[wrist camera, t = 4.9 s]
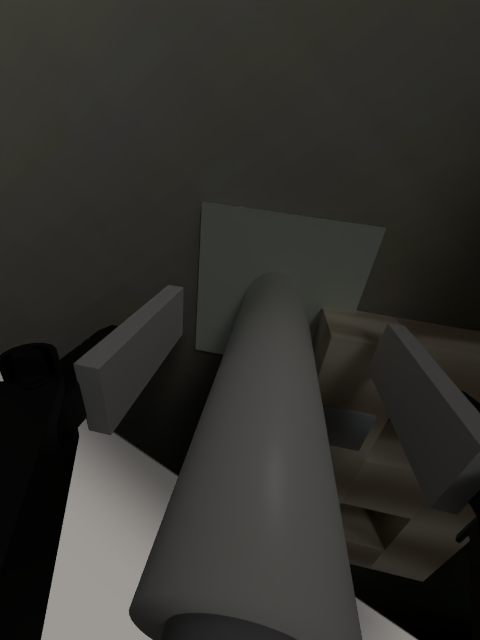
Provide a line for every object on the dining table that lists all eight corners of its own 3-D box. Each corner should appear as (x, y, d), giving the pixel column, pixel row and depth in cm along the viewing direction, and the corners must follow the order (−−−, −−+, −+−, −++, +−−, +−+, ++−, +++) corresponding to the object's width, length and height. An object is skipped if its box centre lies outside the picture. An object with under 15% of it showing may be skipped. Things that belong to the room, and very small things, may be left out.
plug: (250, 266, 16) (84, 641, 3) (310, 276, 15) (441, 748, 2) (243, 318, 17) (119, 700, 4) (296, 328, 17) (331, 768, 4)
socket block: (321, 304, 16) (332, 338, 13) (558, 344, 15) (646, 394, 12) (264, 495, 27) (261, 544, 23) (403, 527, 26) (424, 584, 22)
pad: (203, 201, 15) (201, 201, 14) (383, 227, 14) (386, 228, 13) (197, 346, 19) (195, 349, 19) (331, 371, 19) (331, 375, 18)
